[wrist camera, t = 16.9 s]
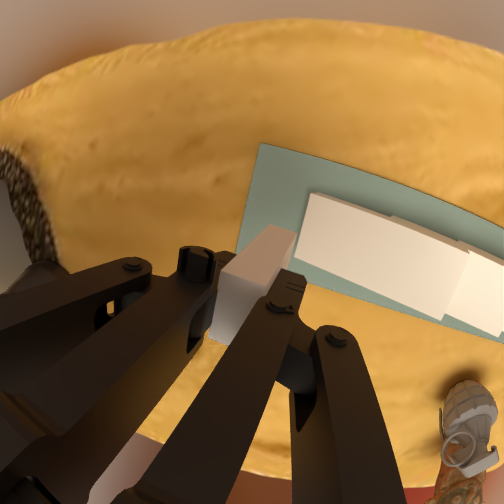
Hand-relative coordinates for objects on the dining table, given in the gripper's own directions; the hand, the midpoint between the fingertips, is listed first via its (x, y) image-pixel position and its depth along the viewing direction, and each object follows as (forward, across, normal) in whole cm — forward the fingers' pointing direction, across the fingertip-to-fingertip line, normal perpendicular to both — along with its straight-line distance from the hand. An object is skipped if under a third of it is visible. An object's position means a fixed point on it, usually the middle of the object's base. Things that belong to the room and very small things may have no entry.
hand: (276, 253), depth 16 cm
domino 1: (+8, +1, 0) cm, 8 cm away
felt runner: (+9, +12, 0) cm, 15 cm away
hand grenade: (+10, +22, -12) cm, 27 cm away
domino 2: (+8, +7, 0) cm, 10 cm away
